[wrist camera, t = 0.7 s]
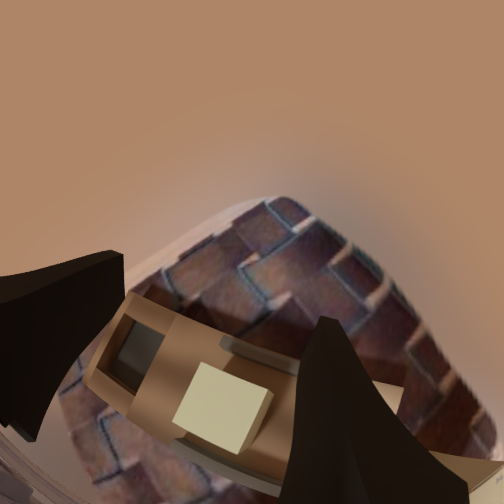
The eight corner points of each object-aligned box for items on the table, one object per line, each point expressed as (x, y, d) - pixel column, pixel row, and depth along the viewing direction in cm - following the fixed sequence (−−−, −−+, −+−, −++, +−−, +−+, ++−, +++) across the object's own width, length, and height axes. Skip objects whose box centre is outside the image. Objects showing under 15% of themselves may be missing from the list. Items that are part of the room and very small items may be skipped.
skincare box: (389, 468, 16) (453, 498, 6) (429, 449, 16) (508, 455, 6) (399, 517, 12) (454, 562, 2) (438, 497, 12) (509, 522, 2)
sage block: (250, 446, 18) (237, 454, 14) (196, 421, 20) (171, 421, 15) (274, 394, 20) (267, 389, 16) (220, 372, 22) (201, 361, 18)
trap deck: (347, 504, 15) (356, 520, 11) (95, 385, 25) (69, 376, 21) (394, 390, 20) (412, 384, 16) (139, 299, 30) (119, 281, 26)
